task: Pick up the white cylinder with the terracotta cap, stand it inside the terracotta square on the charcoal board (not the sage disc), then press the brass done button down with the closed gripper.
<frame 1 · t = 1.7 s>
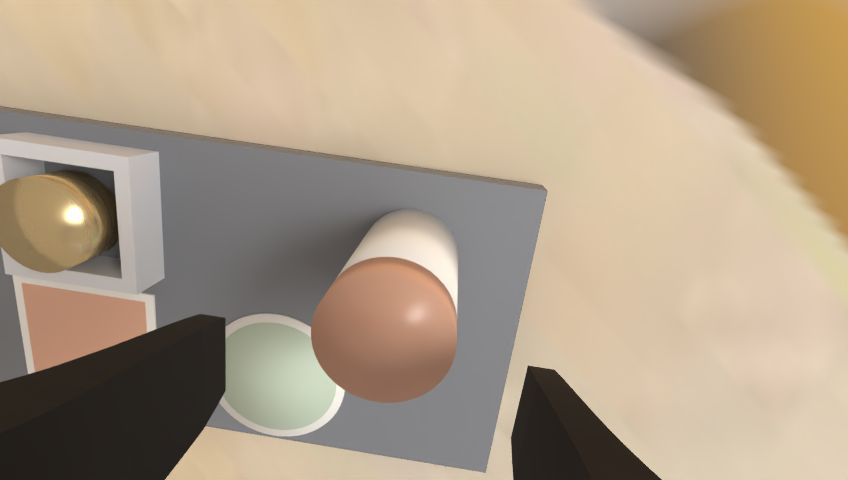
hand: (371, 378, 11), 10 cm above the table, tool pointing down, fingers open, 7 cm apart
white cylinder: (410, 255, 19), point 1 cm above the table, touching board
done button: (59, 220, 18), point 3 cm above the table, slide at 0.0 cm
board: (246, 292, 22), on the table
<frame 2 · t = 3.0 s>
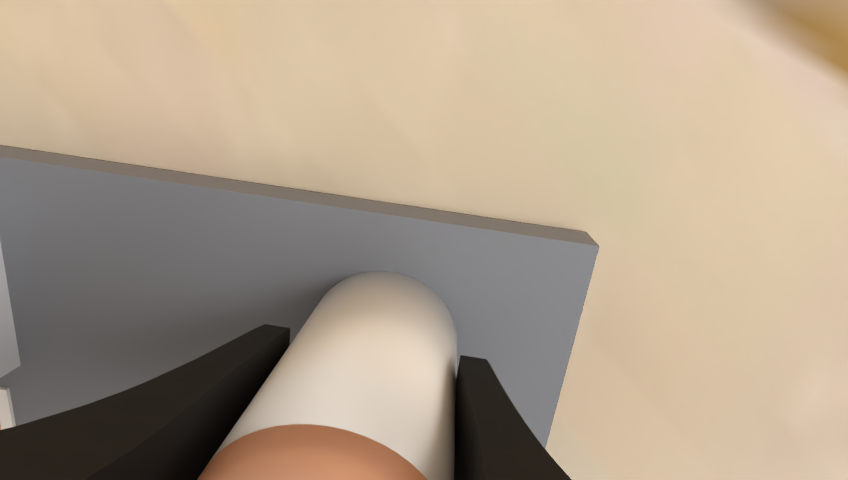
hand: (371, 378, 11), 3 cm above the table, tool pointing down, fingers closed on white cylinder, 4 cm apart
white cylinder: (383, 339, 12), point 1 cm above the table, touching board, gripper
board: (151, 378, 15), on the table
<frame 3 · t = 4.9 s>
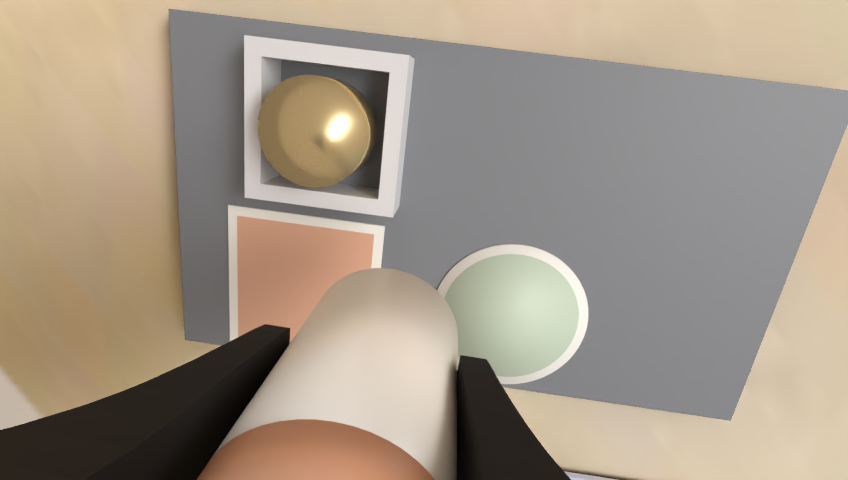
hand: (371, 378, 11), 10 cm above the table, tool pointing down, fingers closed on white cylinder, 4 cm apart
white cylinder: (384, 336, 12), point 8 cm above the table, touching gripper
done button: (320, 131, 16), point 3 cm above the table, slide at 0.0 cm
board: (474, 225, 20), on the table
when the fingers open (5 cm above the table, at t = 6.7 s): white cylinder drops 2 cm, resting on board.
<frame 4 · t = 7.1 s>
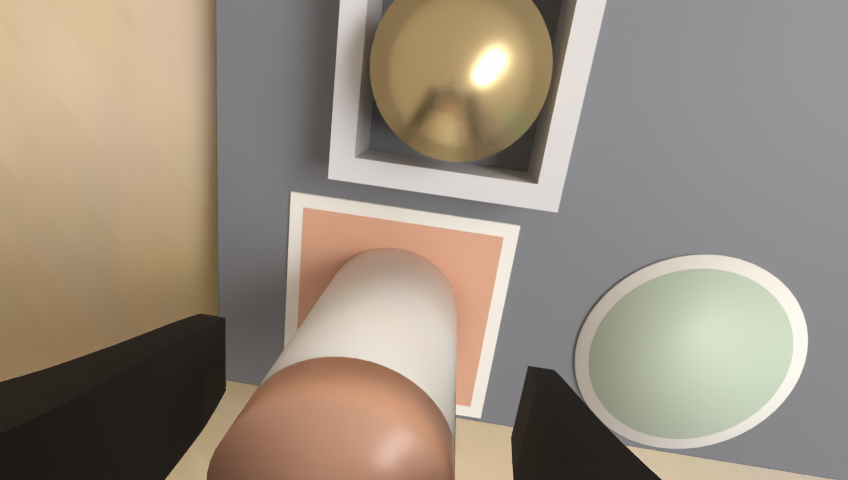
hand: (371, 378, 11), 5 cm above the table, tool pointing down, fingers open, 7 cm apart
white cylinder: (391, 309, 14), point 1 cm above the table, touching board
done button: (459, 72, 10), point 3 cm above the table, slide at 0.0 cm
board: (637, 226, 14), on the table
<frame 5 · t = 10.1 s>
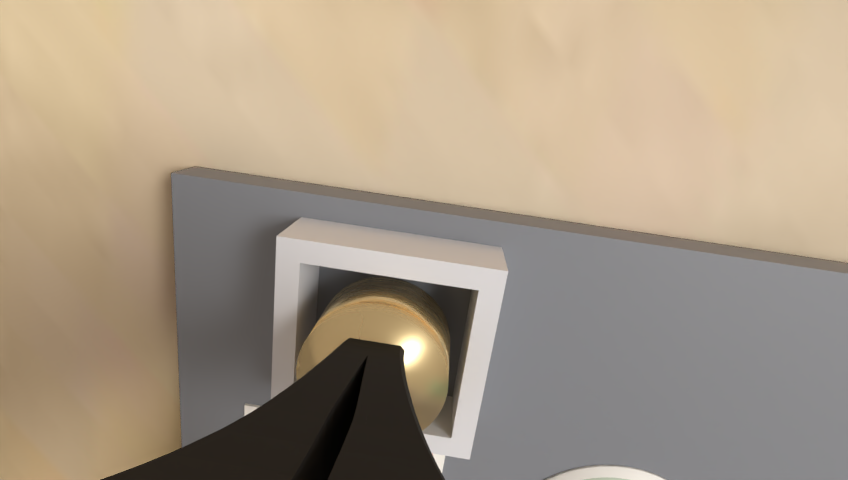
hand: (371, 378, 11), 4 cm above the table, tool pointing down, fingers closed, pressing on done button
done button: (378, 357, 12), point 3 cm above the table, slide at 0.1 cm, touching gripper
board: (558, 424, 15), on the table
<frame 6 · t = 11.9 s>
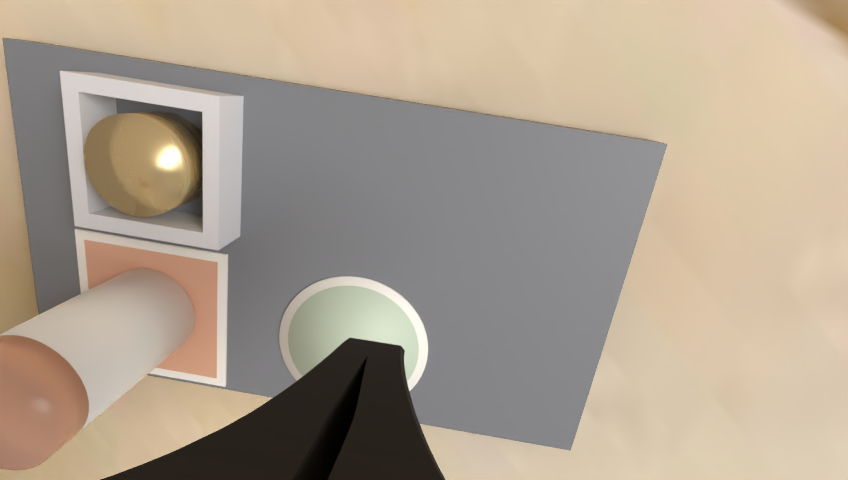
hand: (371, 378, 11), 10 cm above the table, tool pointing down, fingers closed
white cylinder: (151, 310, 20), point 1 cm above the table, touching board
done button: (152, 162, 17), point 2 cm above the table, slide at 0.7 cm
board: (322, 254, 20), on the table
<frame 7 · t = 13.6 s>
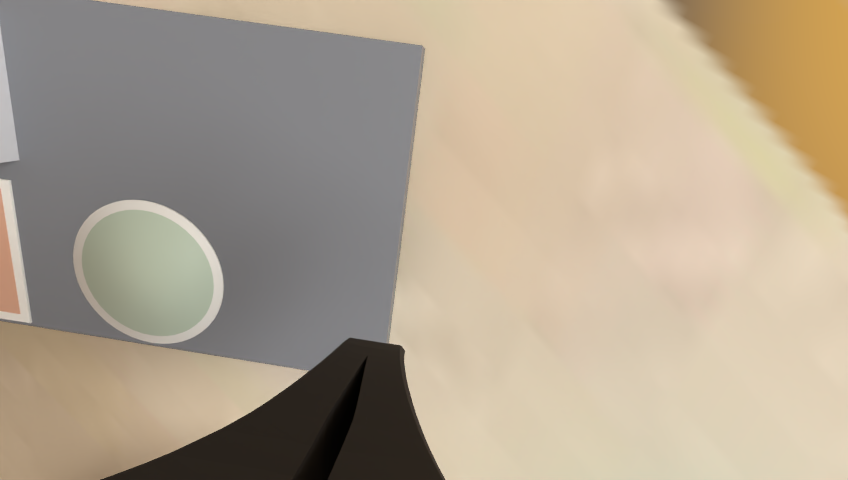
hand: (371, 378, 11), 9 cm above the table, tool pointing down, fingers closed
board: (118, 183, 20), on the table
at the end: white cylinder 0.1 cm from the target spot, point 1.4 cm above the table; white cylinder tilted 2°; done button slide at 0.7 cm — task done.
